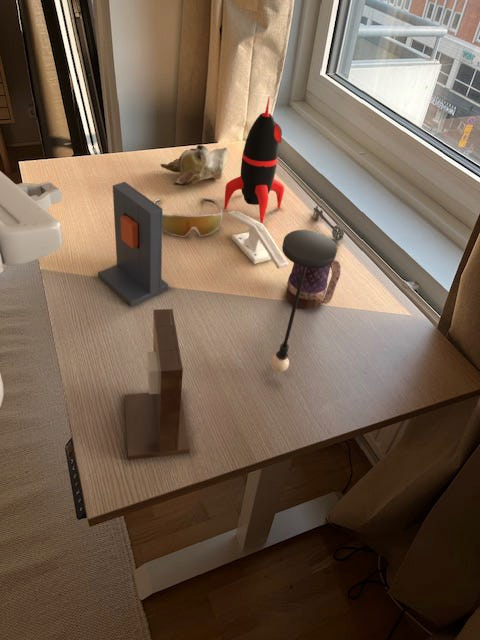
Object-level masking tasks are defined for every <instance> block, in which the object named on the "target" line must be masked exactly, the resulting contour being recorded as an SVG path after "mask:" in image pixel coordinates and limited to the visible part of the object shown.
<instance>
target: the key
mask: <svg viewBox="0 0 480 640" xmlns="http://www.w3.org/2000/svg"><path fill="white" fill-rule="evenodd" d="M318 208H319V206H318V205H316V206H315V207H313V215H312V216H313V217H314V218H315V219H316V220H317V221H319V220H320V219H321V220H323V222H325V224H327V225H328V226H329V227H330V228H331V229H332V231H331V235H332V238H333V239H334V240H335V241H336V242H339V241H342V240H343V239H344V235H345V231H344V228H343V227H342V226H341V225H340V224H336V225H333V224H332V223H331V222H330V220H328V218H327V217H326V216H325V215H324V214H323V213H324V211H323V210H322V209H320V210H319V209H318Z"/></svg>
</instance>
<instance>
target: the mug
mask: <svg viewBox="0 0 480 640" xmlns="http://www.w3.org/2000/svg"><path fill="white" fill-rule="evenodd" d="M302 268H303V266H300V265H297V264H295V263H293V265H292V268H291V272H290V274H289V275H288V279H287V283H286V284H287V286H286V289H285V297H286V299H287V301H288V302H290V304H292V305H293V304H294V300H295V296H296V292H297V288H298V284H299V280H300V276H301V272H302ZM341 269H342V267H341V263H340V261H338V260H337V259H335V260H334V261H333V263H331V264H330V265H328V266H326V267H322V268H308V267H307V268H306V272H305V276H304V280H303V284H302V288H301V292H300V296H299V299H298V303H297V307H296V308H299V309H305V310H308V309H309V310H311V309H315V308H317V307H319V306H320V305H322V304H329V303H330V302H331V301H332V299H333V296H334V293H335V290H336V287H337V284H338V281H339V279H340V277H341ZM330 272H331V277H330V280H329V275H330ZM328 280H329V282H328Z"/></svg>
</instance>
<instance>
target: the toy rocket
mask: <svg viewBox="0 0 480 640" xmlns="http://www.w3.org/2000/svg"><path fill="white" fill-rule="evenodd" d="M269 107H270V97H268V98H267V103H266V108H265V111H264V112H262V113H260V114H259V115H258V116H257V118H256V119H255V120H254V122H253V123H252V125H251V127H250V129H249V131H248V133H247V136H246V140H245V142H244V146H243V151H242V157H241V164H240V176H238V177H235V178H233V179H231V180H229V181H228V182H227V183H226V185H225V188H224V189H225V190H224V205H223V210H227V208H228V207H229V206H228V205H229V202H230V200H231V198H232V195H233V194H234V193H235V192H236V191H238V190H241V194H242V195H243V199H244V201H245V203H246V204H248V205H252V206H258V211H259V222H260V223H262V224H263V223H264V220H265V215H266V211H267V208H268V203H269V194H270V191H271V192H272V191H273V192H274V193H275V195H276V202H277V209H278V210H280V209H281V206H282V201H283V197H284V193H285V185H284V184H283V183H282V182H280V181H278V180H277V179H275V176H276V170H277V165H278V158H279V144H281V143H282V135H283V131H282V128H281V126H280V124H278V123H277V121H275V119H274V117H273V114H271V113H269Z"/></svg>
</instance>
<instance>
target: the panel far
mask: <svg viewBox="0 0 480 640" xmlns="http://www.w3.org/2000/svg"><path fill="white" fill-rule="evenodd" d="M112 200H113V218H114V219H113V220H114V236H115V254H116V255H115V257H116V264H115V265H113V266H111V267H108V268H106V269H103V270H101V271H98V272H97V277H98V278H99V279H100V280H101V281H102V282H103V283H104V284H105V285H107V286H108V287H109V288H110V289H111V290H112V291H113V292H115V293H116V294H117V296H119V297H120V298H121V299H122V300H123V301H124V302H125V303H126V304H128V305H129V306H130V307H133V306H136V305H137V304H140V303H141V302H144V301H146V300H148V299H150V298H152V297H154V296H156V295H158V294H160V293H163V292H165V291H167V290H168V289H169V283H167V282H166V281H165V280H163V279H162V269H163V268H162V262H163V259H162V257H163V230H162V214H164V213H163V210H164V209H163V208H162V207H161V206H159V205H158V203H156V204H155V203H154V201H153V200H151V199H150V198H149V197H148V196H146V195H144V194H143V193H141V192H140V191H138V190H137V189H136V188H135V187H133V186H132V185H130V184H129V183H127V182H126V181H122V182H120V183H116V184H113V185H112ZM125 215H127V216H128V217H130V218H131V219H132V220H133V221H135V222H136V223H137V224H138V247H135V248H131V247H130V246H129V245H128V244H126V243H125V242H124V241H123V240H122V239H121V217H123V216H125Z"/></svg>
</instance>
